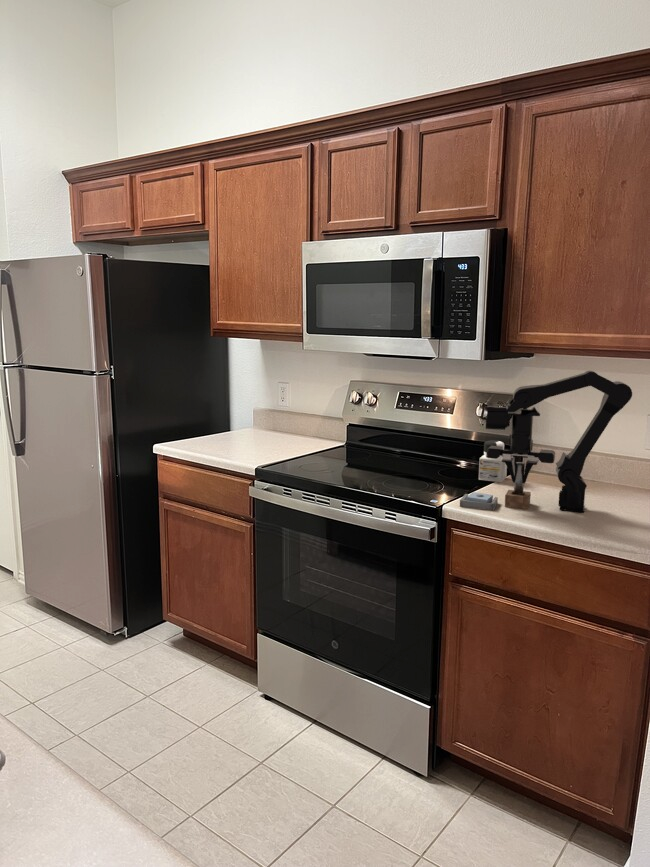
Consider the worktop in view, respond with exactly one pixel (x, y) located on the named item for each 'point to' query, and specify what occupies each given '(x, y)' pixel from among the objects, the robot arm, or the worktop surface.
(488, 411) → the robot arm
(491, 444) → the container
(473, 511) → the worktop surface
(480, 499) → the block
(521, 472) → the cylinder
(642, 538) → the worktop surface
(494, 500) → the tray
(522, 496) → the go block
